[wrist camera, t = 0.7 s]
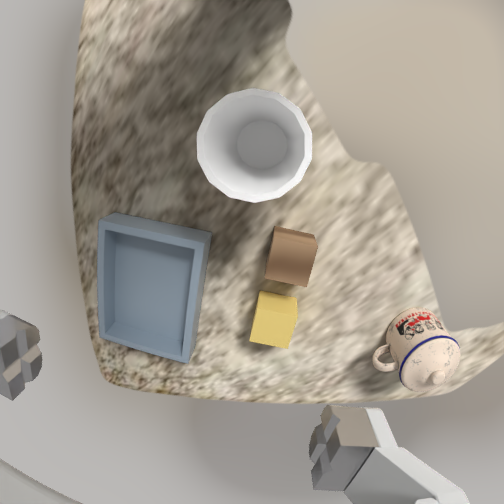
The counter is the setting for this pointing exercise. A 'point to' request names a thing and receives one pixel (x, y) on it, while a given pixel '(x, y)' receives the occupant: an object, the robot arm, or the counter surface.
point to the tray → (150, 284)
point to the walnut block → (291, 256)
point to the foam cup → (254, 145)
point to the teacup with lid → (419, 350)
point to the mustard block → (274, 319)
